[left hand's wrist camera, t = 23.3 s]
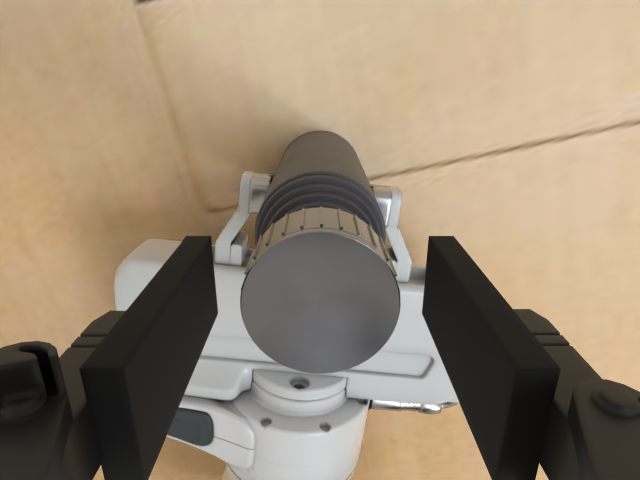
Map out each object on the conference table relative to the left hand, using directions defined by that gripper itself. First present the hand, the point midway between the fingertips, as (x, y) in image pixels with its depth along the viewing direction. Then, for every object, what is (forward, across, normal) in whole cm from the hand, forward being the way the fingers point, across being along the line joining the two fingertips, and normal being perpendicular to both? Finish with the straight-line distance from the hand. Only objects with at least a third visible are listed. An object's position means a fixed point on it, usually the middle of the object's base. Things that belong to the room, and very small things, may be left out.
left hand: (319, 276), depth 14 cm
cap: (-2, 0, 0) cm, 2 cm away
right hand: (+9, 0, -1) cm, 9 cm away
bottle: (+16, 0, 0) cm, 16 cm away
